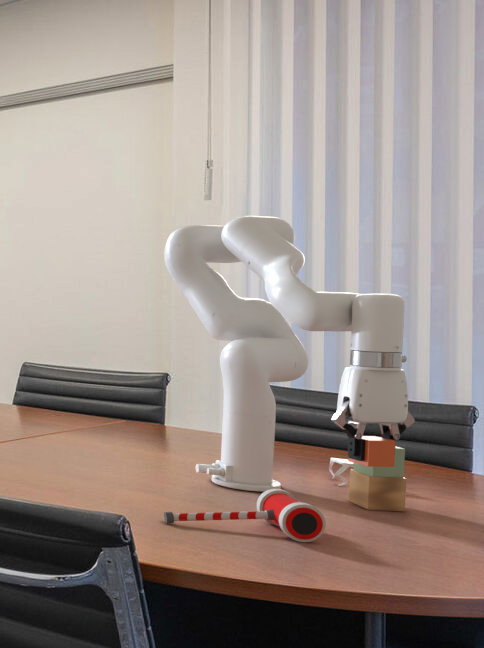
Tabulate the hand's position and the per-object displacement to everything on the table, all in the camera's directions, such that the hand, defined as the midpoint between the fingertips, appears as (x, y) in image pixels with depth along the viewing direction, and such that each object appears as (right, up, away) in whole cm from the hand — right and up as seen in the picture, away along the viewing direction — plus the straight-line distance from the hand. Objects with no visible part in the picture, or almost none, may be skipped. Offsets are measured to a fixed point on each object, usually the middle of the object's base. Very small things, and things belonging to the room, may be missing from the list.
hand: (371, 458), depth 155 cm
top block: (0, -1, 0) cm, 1 cm away
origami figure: (+17, -10, +26) cm, 33 cm away
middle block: (+8, -4, +9) cm, 13 cm away
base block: (+8, -11, +9) cm, 17 cm away
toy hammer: (-27, -11, -8) cm, 30 cm away
